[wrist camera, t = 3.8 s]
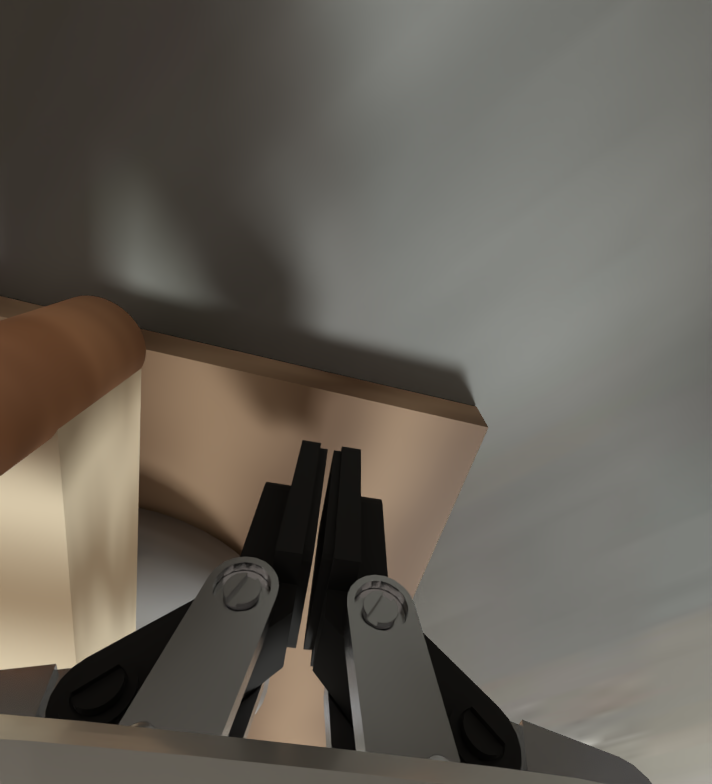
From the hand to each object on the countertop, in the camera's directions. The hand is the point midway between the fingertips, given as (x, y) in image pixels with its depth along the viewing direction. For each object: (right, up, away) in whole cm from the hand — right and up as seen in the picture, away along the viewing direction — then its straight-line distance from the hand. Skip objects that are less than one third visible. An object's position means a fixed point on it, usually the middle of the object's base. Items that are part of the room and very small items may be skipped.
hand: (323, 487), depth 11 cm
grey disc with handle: (-7, -3, +4) cm, 9 cm away
